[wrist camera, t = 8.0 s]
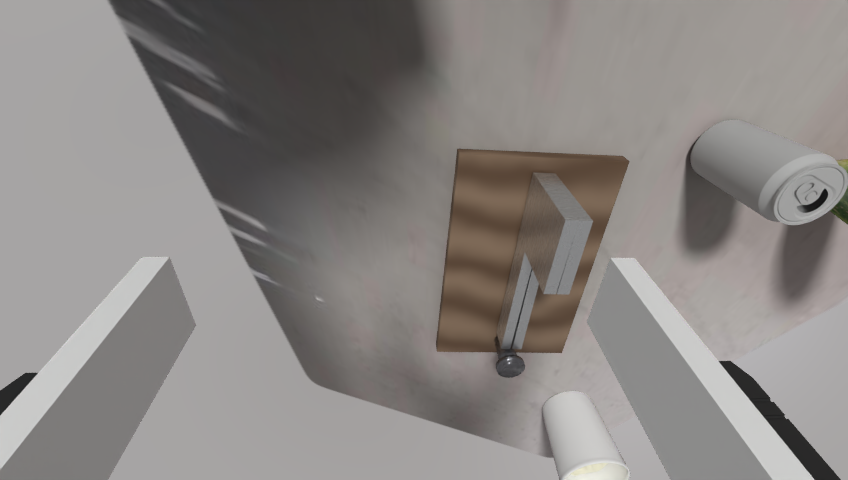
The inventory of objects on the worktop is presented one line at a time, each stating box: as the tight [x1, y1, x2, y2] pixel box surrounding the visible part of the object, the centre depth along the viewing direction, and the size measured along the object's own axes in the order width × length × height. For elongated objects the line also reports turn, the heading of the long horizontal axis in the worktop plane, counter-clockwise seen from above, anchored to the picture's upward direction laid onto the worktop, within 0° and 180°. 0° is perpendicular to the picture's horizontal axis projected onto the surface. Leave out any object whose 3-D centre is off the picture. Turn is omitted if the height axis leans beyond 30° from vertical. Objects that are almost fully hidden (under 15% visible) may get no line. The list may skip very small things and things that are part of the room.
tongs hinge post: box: [494, 336, 525, 377], centre depth 54 cm, size 4×4×5 cm
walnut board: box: [436, 149, 629, 353], centre depth 50 cm, size 29×18×2 cm, turn 177°
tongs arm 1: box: [497, 172, 579, 349], centre depth 44 cm, size 23×1×10 cm, turn 176°
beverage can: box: [691, 119, 848, 225], centre depth 38 cm, size 6×6×12 cm
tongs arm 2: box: [511, 173, 593, 349], centre depth 44 cm, size 23×1×10 cm, turn 177°
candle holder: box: [542, 391, 630, 480], centre depth 62 cm, size 10×10×12 cm
